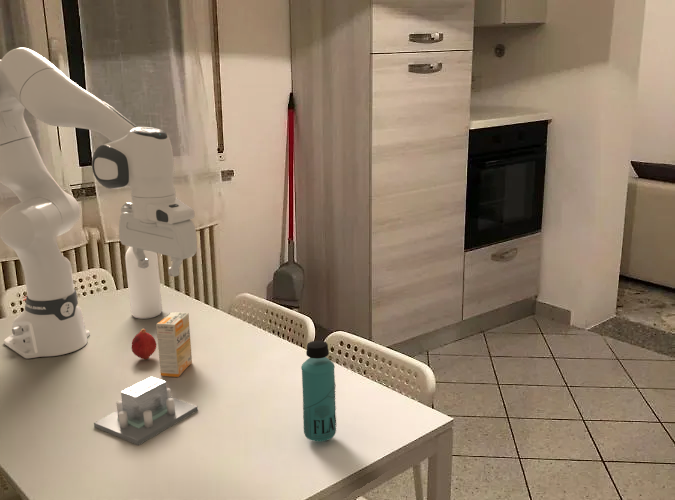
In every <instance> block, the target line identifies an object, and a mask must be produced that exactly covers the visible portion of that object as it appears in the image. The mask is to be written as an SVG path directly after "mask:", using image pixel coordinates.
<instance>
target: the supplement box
mask: <svg viewBox="0 0 675 500" xmlns="http://www.w3.org/2000/svg"><path fill="white" fill-rule="evenodd" d="M189 316H190V314H189V312H179V311H177V312H175V311H171V312H169V313H168V314H167V315H165V317H163V318H162V319H161V320H159V321H158V322H157V323H156V324H155V326H156V334H157V335H156V338H157V346H158V347H157V348H158V349H157V350H158V357H159V358H158V359H159V370H160V371H159V373H160V376H161V377H169V378H170V377H172V378H173V377H174V378H179V377H180V376H181V375H182V374H183V373H184V371H185V370H186V369H187V368H188V367H189V366H190V365H192V363H193V360H192V359H193V357H192V355H193V354H192V343H191V329H190V318H189Z"/></svg>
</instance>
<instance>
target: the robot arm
mask: <svg viewBox="0 0 675 500" xmlns="http://www.w3.org/2000/svg"><path fill="white" fill-rule="evenodd" d="M25 110H26V111H27V112H29V114H30V115H32V116H33V117H34V118H35V119H37V120H39V121H40V122H43V123H44V124H46V125H47V126H48V125H49V126H53V127H63V128H77V129H84V130H89V131H93V132H96V133H99V134H101V135H102V136H104V137H105V138H106V139H108V140H109V141H111V142H107V143H104V144H101V145H99V146H98V147H96V149H95V151H94V152H93V155H92V159H91V169H92V174H93V176H94V178H95V179H96V180H97V182H98V183H99V184H100V185H101V186H102V187H104V188H106V189H113V190H118V189H119V190H120V189H123V188H124V189H125V188H129V189H130V190H131V191H130V193H131V195H130V196H131V202H129V201H128V202H127V201H126V202H125V203H124V204H123V205H122V207H121V208H120V212H121V213H120V216H119V224H118V234H119V235H118V238H119V241H120V243H121V245H123V246H126V247H133V253H134V255H135V257H136V259H137V260H138V267H140V268H147V267H148V266H149V264H148V262H149V260H148V259H146V257H145V254H144V250H147V251H151V252H155V253H157V254H159V255H164V256H169V257H170V261H171V262H172V263H171V265H170V267H167V270H168V273H167V274H168V276H170V277H177V276H179V275H180V272H181V271H180V267H181V265H182V262H183V261H184V260H186V259H189V258H192V257H194V256H195V254H197V251H198V245H197V244H198V243H197V242H198V238H197V231H196V230H197V229H196V225H195V223H194V221H193V219H195V217H196V216H195V209H194V208H192V207H191V206H189V205H188V204H186V203H185V202H183V201H182V200H180V198H178V197H177V195H176V188H175V185H174V175H175V161H174V153H173V152H174V151H173V146H172V142H171V139H170V136H169V134H168V133H167V132H166V131H165V130H164V129H163V130H162V129H160V128H156V127H149V126H138V125H136V123H134V122H133V121H131V120H130V119H129V118H127V117H126V116H124V115H123V114H122V113H121V112H119V110H117V109H115V107H113V106H112V105H110V104H109V103H108V102H106V101H104V100H102V99H101V98H99V97H98V96H96V95H94V94H92V93H91V92H89V91H87V90H86V89H84V88H82V87H81V86H79V84H77V83H76V82H74V81H73V80H72V79H70V78H69V77H68V76H66V74H65V73H63V72H62V70H60V69H59V68H58V67H56V66H55V65H54V64H53V63H52V62H51V61H49V60H48V59H47V58H46V57H43V56H42V55H41V54H39V53H38V52H36V51H34V50H32V49H30V48H27V47H17V48H13V49H11V50H9V51H7V53H5V54H4V56H3V57H2V58H1V59H0V184H1V185H3V186H4V187H6V188H8V189H9V190H11V191H12V192H13V194H14V195H16V197H17V198H18V200H19V201H20V202H19V203H16V204H14V205H12V206H11V207H10V208H9V209H7V210H5V212H4V213H2V214H1V216H0V240H1V241H2V242H3V244H5V245H6V246H7V247H9V248H11V249H12V250H13V251H14V253H15V254H16V255H17V258H18V259H19V261H20V264H21V268H22V270H23V275H24V280H25V287H26V293H27V295H25V296H22V298H23V299H22V301H23V302H25V305H24V310H23V311H21V313H20V314H18V316H16V317H15V318H14V319H13V321H12V323H11V328H12V329H11V333H12V334H10V335H8V336H7V337H6V338H5V339H4V340H3V345H5V346H7V348H10V349H11V350H12V351H13V352H15V353H17V354H18V355H19V356H21V357H23V358H24V359H34V358H40V357H42V358H43V357H55V356H61V355H65V354H69V353H72V352H75V351H78V350H80V349H81V348H83V347H85V346H86V345H87V344H88V341H89V340H88V337H89V336H90V334H91V332H90V330H89V329H86V324H85V319H84V316H83V315H84V314H83V310H82V308H81V306H79V305H78V304H79V301H78V294H77V290H76V289H75V285H74V278H73V269H72V263H71V261H70V260H69V258H67V257H66V256H64V255H63V253H62V251H61V249H60V247H59V245H58V237H60V236H62V235H64V234H66V233H68V232H69V231H71V229H73V227H74V226H75V225H77V223H78V222H79V220H80V217H81V208H80V204H79V201H77V199H76V198H75V197H74V196H73V195H72V194H69V193H68V192H66V191H65V190H64V189H63V188H62V187H61V186H60V185H59V184H58V182H57V181H56V180H55V179H54V177H53V176H52V174H51V173H50V171H49V170H48V168H47V167H46V165H45V162H44V160H43V158H42V156H41V154H40V152H39V150H38V148H37V144H36V142H35V140H34V138H33V136H32V133H31V131H30V128H29V127H28V126H29V125H28V124H27V122H26V120H25V117H24V113H25Z"/></svg>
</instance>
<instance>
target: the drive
mask: <svg viewBox="0 0 675 500" xmlns="http://www.w3.org/2000/svg"><path fill="white" fill-rule="evenodd" d="M167 386H168V385H167V381H165V380H163V379H160V378H157V377H154V376H150V377H147V378H146V379H144V380H142V381H139V382H137V383H135V384H132V386H130V387H129V386H128V387H127V388H125V389H124V390H121V391H120V396H121V397H120V398H121V400H122V406H123V411H126V412H127V418H128V420H129V421H131V422H134V423H136V424H140V423H142V422H144V415H143V412H144V411H147V410H151V411H152V417H153V416H155V415H156V414H158V413H160V412H162V411H164V410H165V409H167V405H166V400H167V399H168V396H167V388H168V387H167Z"/></svg>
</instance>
